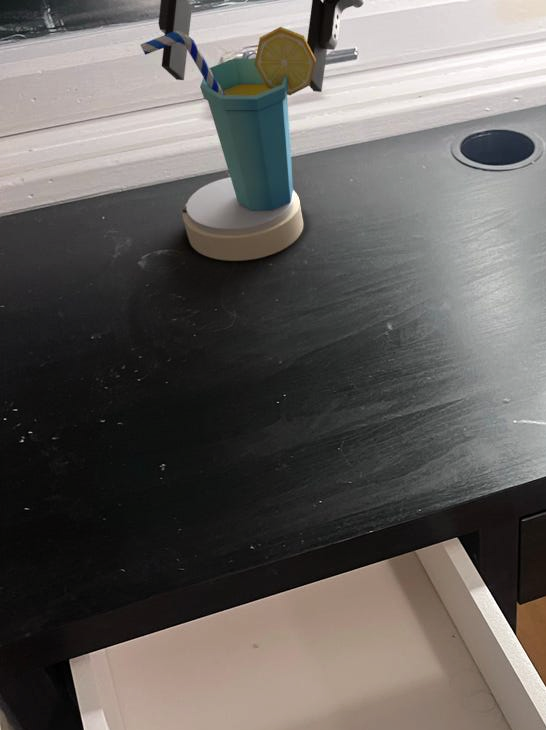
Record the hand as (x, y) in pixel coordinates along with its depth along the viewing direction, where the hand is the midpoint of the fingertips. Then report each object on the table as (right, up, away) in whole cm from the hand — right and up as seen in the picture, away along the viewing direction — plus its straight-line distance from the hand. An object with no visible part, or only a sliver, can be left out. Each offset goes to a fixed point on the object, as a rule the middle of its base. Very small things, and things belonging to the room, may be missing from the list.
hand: (241, 79), depth 89 cm
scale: (-1, -11, +6) cm, 13 cm away
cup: (+1, -9, +4) cm, 10 cm away
